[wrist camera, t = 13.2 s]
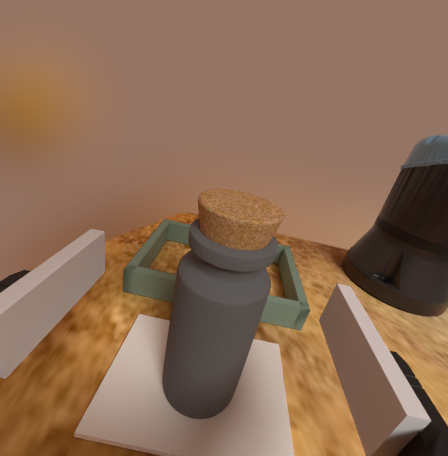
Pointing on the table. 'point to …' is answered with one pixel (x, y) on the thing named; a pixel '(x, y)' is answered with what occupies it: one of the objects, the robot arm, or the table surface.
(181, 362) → the bottle
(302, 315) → the green rectangular frame
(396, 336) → the table surface
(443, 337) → the table surface
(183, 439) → the tile
